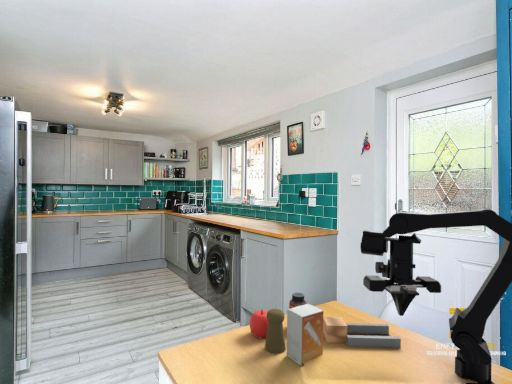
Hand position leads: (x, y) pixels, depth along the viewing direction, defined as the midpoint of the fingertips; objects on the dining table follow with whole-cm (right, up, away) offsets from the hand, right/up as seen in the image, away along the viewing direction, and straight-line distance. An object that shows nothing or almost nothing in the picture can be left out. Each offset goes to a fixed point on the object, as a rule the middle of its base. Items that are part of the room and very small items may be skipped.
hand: (400, 315), depth 80 cm
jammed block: (-16, -11, +9) cm, 21 cm away
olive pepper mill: (-34, -12, +5) cm, 36 cm away
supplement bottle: (-26, -12, +18) cm, 33 cm away
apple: (-38, -12, +13) cm, 42 cm away
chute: (-5, -12, +9) cm, 16 cm away
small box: (-26, -12, +1) cm, 29 cm away
